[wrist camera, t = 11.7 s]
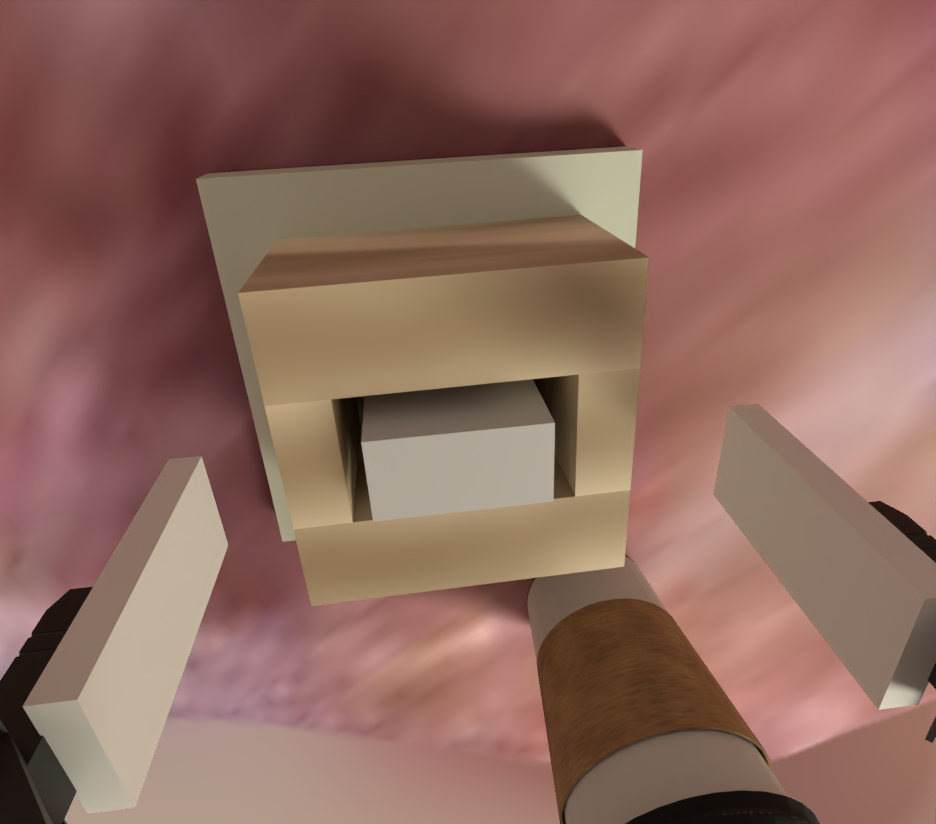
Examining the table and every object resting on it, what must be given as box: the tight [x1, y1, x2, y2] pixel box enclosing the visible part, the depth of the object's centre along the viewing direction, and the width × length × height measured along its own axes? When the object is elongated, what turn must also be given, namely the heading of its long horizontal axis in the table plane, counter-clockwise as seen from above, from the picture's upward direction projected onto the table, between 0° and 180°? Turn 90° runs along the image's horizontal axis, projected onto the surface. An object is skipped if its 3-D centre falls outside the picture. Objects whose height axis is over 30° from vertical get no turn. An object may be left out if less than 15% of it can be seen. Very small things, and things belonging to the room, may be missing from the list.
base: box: [196, 146, 642, 542], centre depth 20 cm, size 14×14×8 cm
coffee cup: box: [527, 556, 820, 824], centre depth 24 cm, size 8×8×15 cm
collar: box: [238, 215, 649, 606], centre depth 20 cm, size 10×10×6 cm
